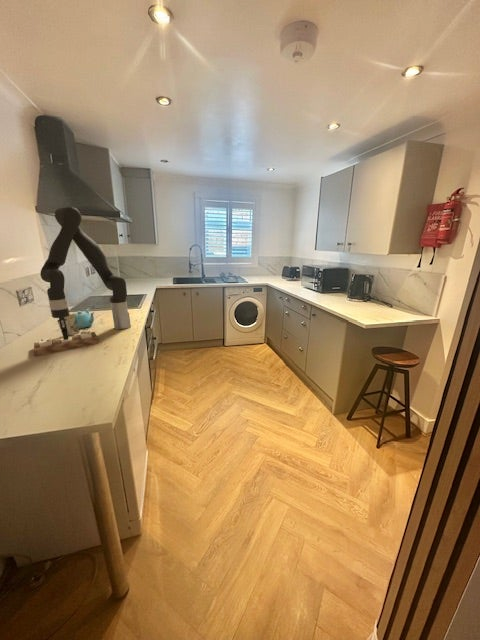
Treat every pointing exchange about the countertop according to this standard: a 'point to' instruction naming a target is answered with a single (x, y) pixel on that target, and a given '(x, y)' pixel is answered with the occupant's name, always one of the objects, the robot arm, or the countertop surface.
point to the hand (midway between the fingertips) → (66, 338)
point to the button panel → (65, 344)
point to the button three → (85, 335)
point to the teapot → (84, 319)
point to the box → (72, 324)
